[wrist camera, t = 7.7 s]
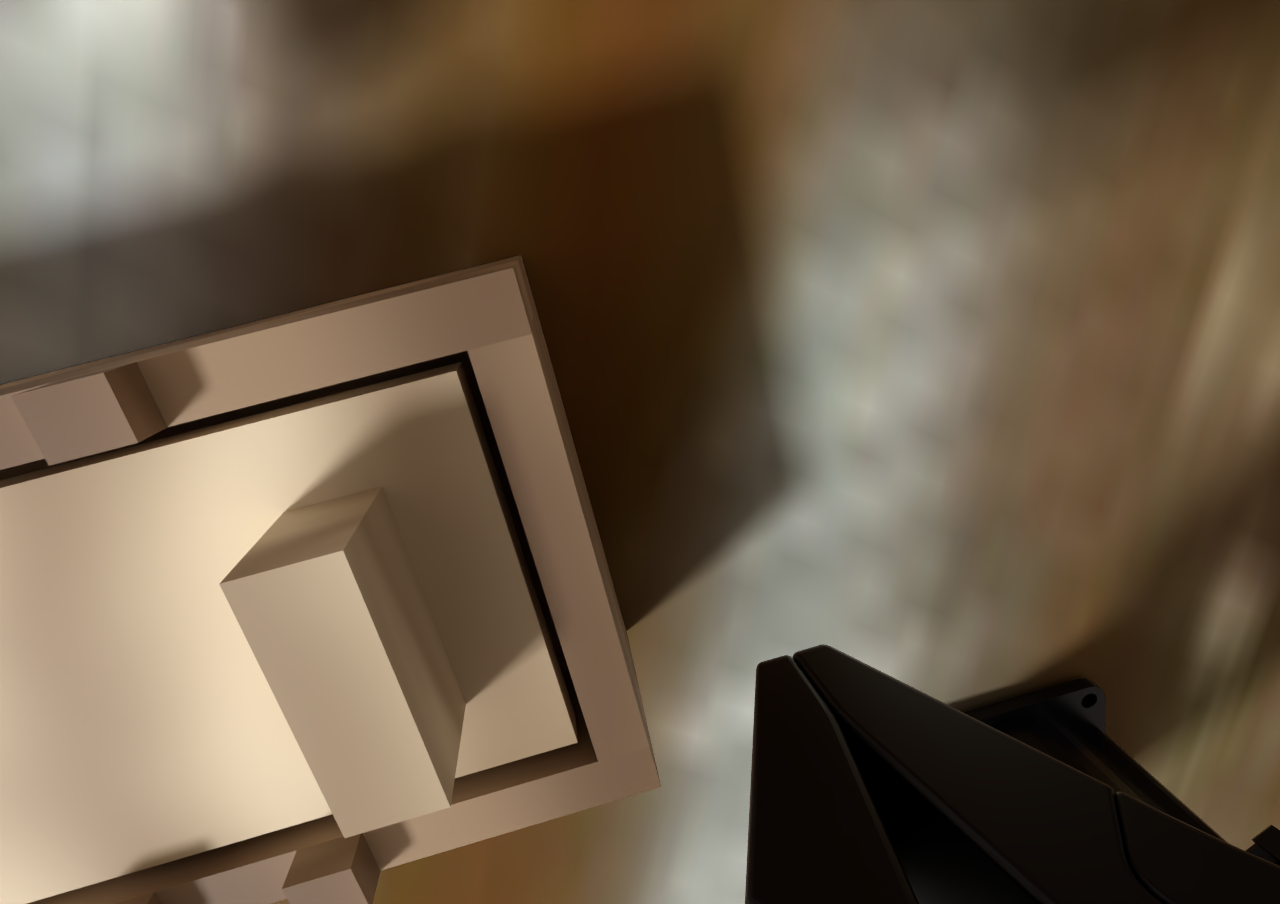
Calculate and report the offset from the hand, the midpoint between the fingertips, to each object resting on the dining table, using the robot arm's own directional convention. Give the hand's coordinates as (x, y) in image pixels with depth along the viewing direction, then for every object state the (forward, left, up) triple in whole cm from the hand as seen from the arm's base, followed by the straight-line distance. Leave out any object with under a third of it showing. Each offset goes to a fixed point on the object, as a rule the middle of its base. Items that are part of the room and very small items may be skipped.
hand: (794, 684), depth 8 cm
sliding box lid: (+10, 0, -5) cm, 12 cm away
